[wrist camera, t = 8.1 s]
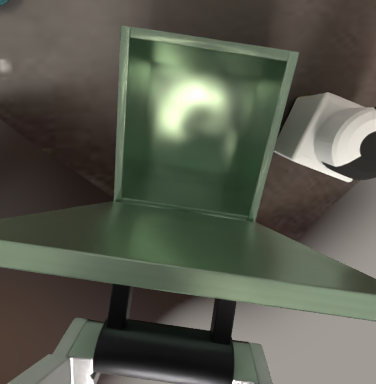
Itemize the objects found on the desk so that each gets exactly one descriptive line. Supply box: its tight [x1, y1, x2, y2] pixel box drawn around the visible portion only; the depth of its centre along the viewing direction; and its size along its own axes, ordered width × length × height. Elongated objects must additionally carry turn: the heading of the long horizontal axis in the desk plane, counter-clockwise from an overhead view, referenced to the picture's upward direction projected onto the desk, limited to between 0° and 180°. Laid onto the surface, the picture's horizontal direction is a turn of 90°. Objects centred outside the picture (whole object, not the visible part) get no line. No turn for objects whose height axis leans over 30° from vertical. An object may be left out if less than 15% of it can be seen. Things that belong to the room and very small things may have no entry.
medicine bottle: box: [274, 92, 376, 182], centre depth 24 cm, size 7×7×12 cm
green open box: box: [114, 25, 299, 222], centre depth 26 cm, size 16×15×10 cm
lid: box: [0, 201, 376, 384], centre depth 15 cm, size 16×15×5 cm
